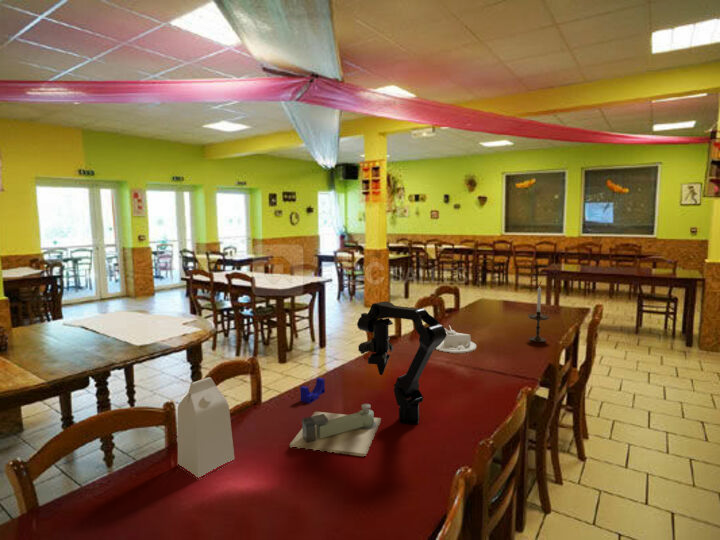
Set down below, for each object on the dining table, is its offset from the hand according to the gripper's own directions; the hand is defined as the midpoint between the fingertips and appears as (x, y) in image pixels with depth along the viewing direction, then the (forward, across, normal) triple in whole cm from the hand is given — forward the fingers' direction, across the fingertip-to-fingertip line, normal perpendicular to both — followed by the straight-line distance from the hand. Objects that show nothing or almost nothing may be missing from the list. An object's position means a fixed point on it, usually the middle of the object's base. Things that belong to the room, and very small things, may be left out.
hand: (381, 374), depth 166 cm
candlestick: (+13, -106, +71) cm, 128 cm away
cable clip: (+13, -4, -29) cm, 32 cm away
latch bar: (+12, +22, -8) cm, 26 cm away
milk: (+13, +49, -44) cm, 67 cm away
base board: (+13, +23, -10) cm, 28 cm away
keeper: (+12, +29, -16) cm, 35 cm away
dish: (+14, -85, +24) cm, 89 cm away
